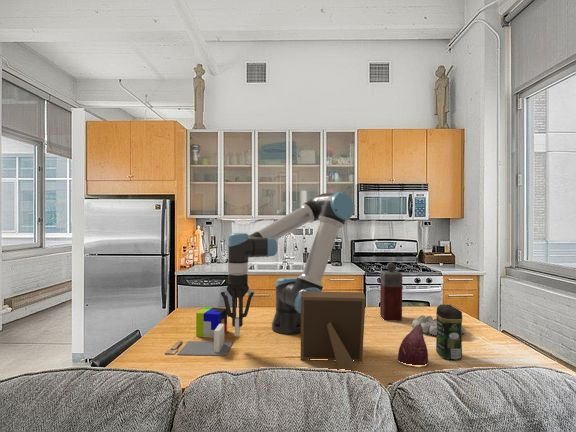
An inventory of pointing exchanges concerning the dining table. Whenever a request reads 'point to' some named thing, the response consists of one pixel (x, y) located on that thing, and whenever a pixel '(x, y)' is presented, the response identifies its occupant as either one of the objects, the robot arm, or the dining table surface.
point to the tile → (218, 338)
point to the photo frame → (332, 326)
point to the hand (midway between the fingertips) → (237, 334)
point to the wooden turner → (174, 348)
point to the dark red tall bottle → (391, 294)
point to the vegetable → (414, 348)
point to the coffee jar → (449, 332)
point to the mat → (204, 348)
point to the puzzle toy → (210, 321)
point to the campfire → (429, 324)
